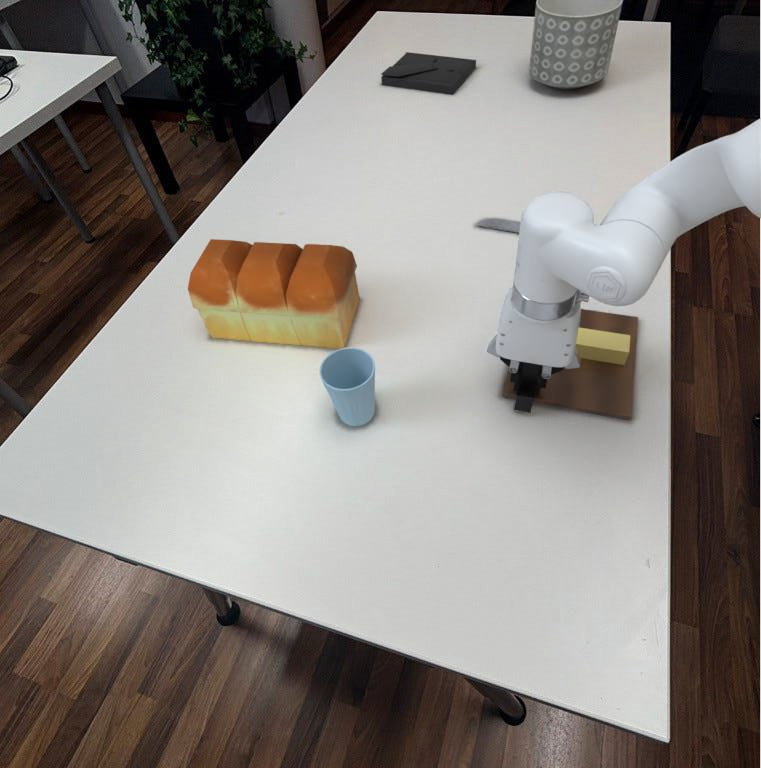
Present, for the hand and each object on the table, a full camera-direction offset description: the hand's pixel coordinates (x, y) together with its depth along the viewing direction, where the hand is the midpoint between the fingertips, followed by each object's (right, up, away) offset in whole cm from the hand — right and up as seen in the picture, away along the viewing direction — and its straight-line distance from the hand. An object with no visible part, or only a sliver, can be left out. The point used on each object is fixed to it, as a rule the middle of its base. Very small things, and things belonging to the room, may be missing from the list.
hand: (527, 385), depth 82 cm
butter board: (+8, +4, +5) cm, 10 cm away
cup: (-25, -4, +3) cm, 26 cm away
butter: (+12, +5, +4) cm, 13 cm away
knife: (+10, +30, +24) cm, 40 cm away
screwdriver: (+2, +3, +3) cm, 5 cm away
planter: (+26, +77, +60) cm, 101 cm away
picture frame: (-8, +84, +69) cm, 109 cm away
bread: (-38, +12, +17) cm, 43 cm away
